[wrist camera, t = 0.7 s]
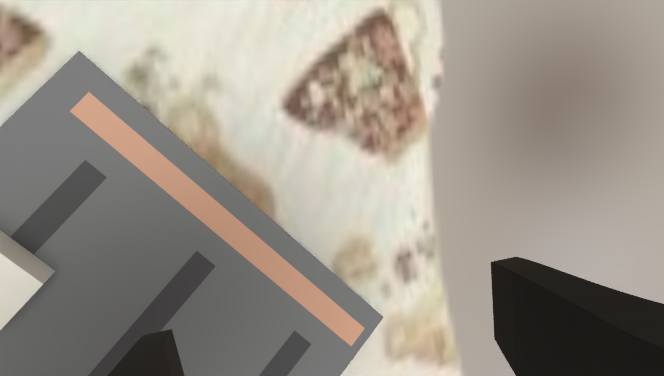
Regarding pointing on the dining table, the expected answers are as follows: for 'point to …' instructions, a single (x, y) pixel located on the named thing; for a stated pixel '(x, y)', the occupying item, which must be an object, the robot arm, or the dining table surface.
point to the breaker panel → (154, 249)
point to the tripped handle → (18, 277)
